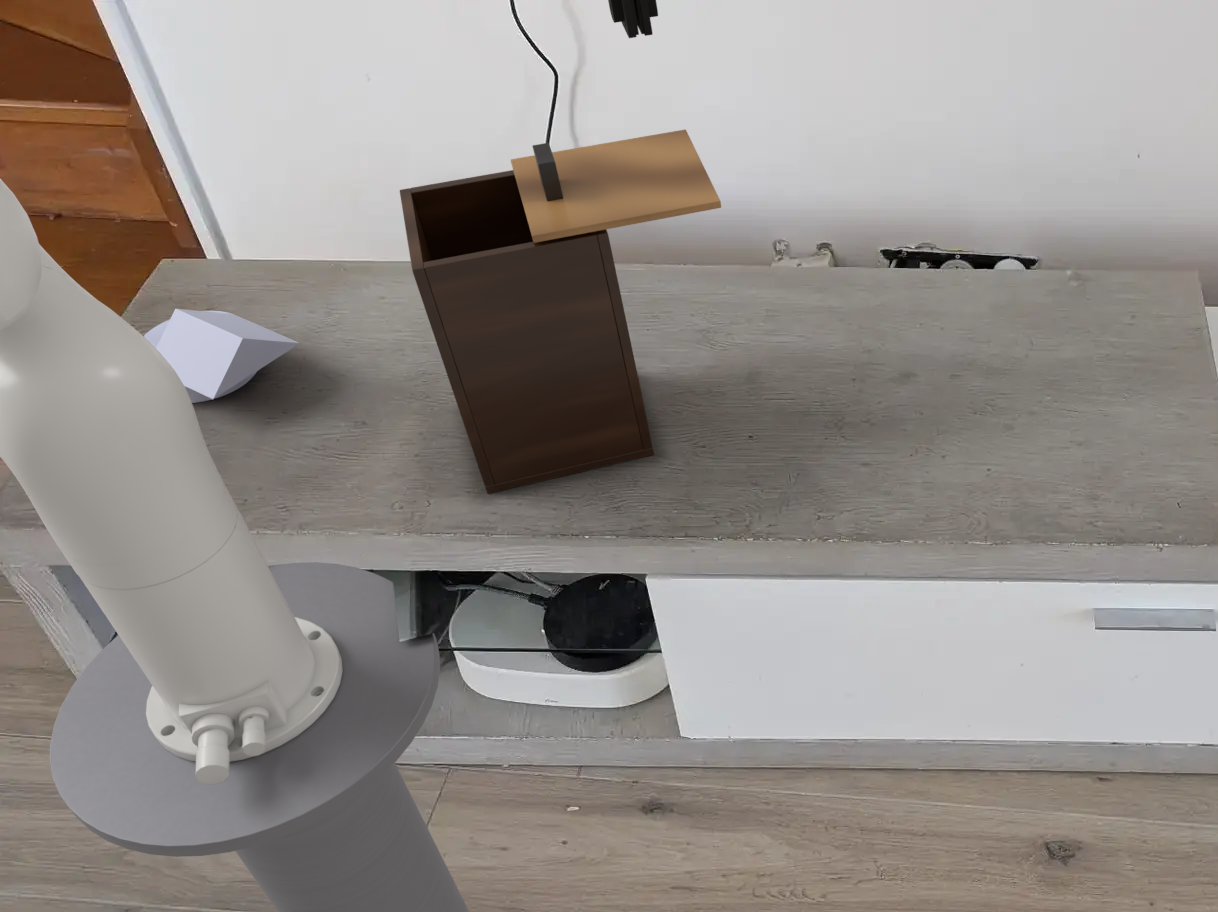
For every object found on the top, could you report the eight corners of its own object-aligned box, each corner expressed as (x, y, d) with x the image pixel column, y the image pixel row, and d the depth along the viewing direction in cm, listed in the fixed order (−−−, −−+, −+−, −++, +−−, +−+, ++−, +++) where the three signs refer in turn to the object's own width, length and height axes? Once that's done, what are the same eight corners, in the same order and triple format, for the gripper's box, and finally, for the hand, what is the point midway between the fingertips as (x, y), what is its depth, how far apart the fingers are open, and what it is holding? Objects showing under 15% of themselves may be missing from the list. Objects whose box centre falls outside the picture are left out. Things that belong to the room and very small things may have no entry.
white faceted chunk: (313, 373, 118) (215, 330, 123) (286, 311, 113) (185, 268, 118) (228, 430, 113) (129, 382, 117) (196, 366, 108) (94, 319, 112)
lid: (721, 208, 98) (715, 163, 95) (533, 243, 94) (522, 198, 92) (686, 136, 105) (680, 93, 103) (512, 166, 102) (500, 122, 99)
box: (654, 455, 111) (608, 233, 96) (487, 494, 107) (412, 270, 92) (628, 374, 118) (581, 157, 103) (471, 409, 115) (399, 189, 100)
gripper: (463, -242, 75) (535, 68, 88) (722, -267, 79) (755, 34, 92) (450, -276, 80) (520, 23, 93) (694, -298, 84) (729, -8, 97)
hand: (636, 28), depth 92 cm, fingers closed
